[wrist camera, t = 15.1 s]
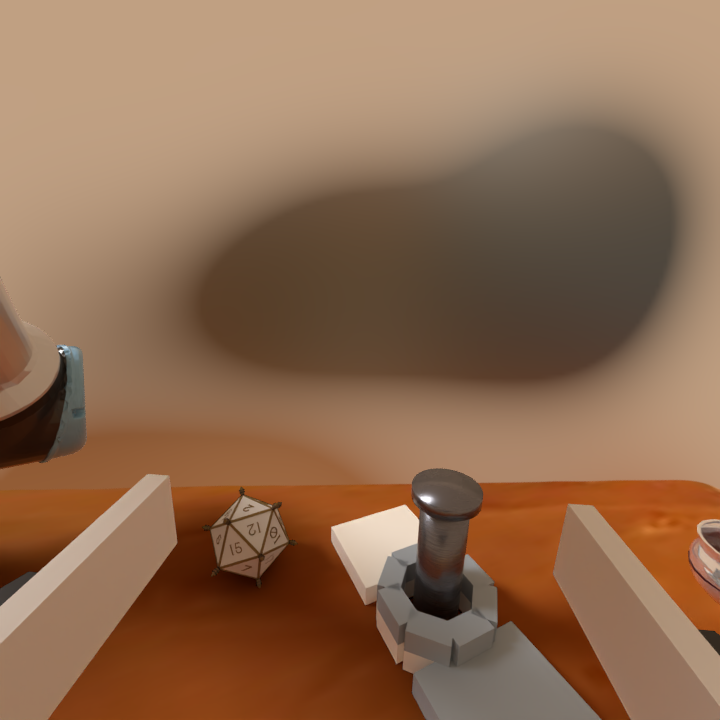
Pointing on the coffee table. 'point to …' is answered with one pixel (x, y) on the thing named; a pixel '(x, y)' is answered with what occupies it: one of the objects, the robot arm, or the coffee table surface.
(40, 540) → the coffee table surface
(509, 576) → the coffee table surface
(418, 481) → the pin
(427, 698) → the hinge leaf
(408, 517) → the hinge leaf
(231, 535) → the game die
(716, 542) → the wineglass
